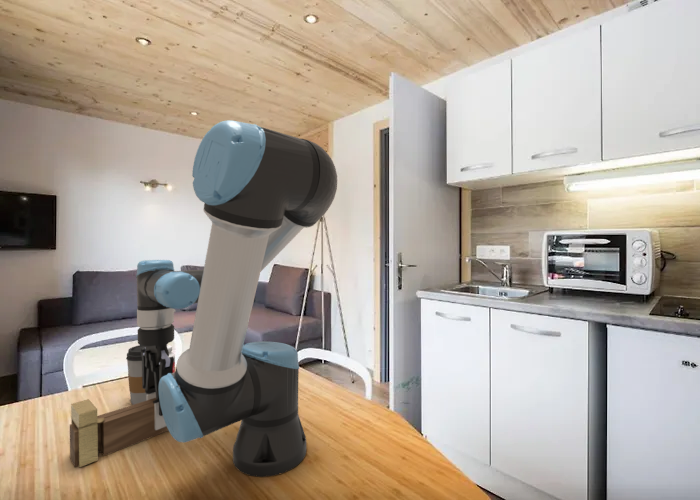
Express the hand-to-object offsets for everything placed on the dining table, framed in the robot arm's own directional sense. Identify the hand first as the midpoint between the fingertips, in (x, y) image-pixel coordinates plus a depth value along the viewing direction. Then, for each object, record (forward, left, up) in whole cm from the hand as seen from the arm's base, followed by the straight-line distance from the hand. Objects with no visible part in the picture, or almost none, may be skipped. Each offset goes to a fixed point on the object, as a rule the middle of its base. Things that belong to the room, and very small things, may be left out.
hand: (157, 423), depth 82 cm
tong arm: (-1, +3, -2) cm, 4 cm away
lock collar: (0, +14, -2) cm, 14 cm away
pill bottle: (+29, -12, -2) cm, 31 cm away
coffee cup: (+19, -3, -2) cm, 19 cm away
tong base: (0, +5, -2) cm, 6 cm away
